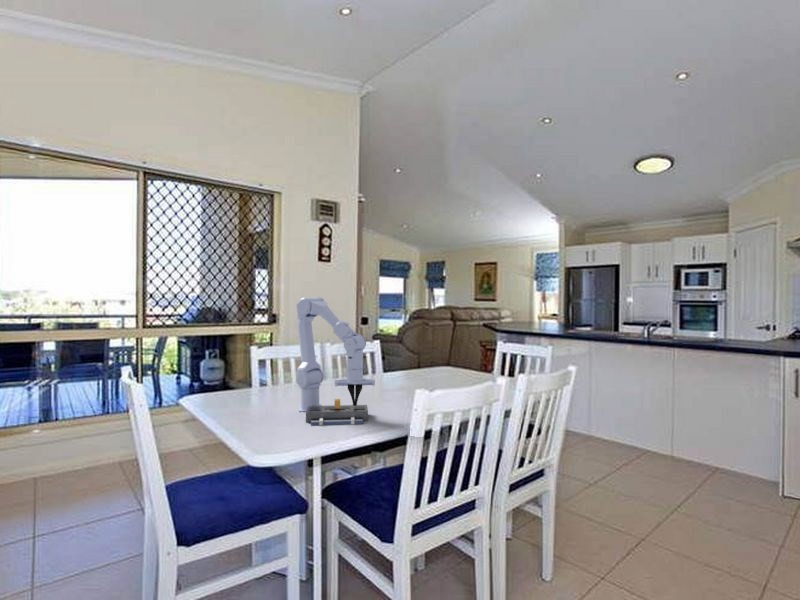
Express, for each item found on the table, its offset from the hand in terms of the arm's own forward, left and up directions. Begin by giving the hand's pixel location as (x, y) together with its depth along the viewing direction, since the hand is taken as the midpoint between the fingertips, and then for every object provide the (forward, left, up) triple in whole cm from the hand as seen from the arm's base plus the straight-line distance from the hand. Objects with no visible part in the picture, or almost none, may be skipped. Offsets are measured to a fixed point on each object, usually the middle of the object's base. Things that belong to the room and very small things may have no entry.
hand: (354, 405), depth 174 cm
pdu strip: (0, -6, -5) cm, 8 cm away
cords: (+7, -6, -5) cm, 10 cm away
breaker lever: (0, -6, -1) cm, 6 cm away
